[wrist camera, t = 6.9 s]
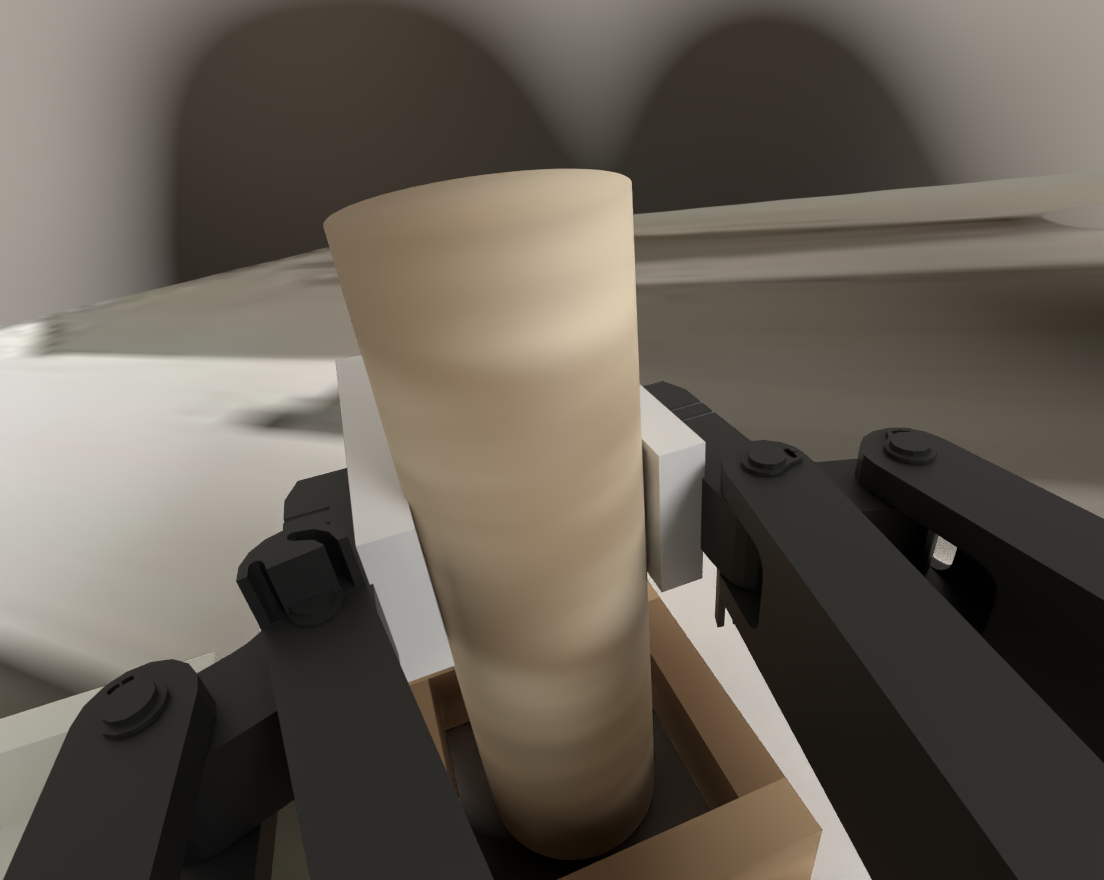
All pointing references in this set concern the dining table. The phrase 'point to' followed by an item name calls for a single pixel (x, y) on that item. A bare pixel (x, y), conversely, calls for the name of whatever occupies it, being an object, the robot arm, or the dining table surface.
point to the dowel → (522, 473)
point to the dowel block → (713, 762)
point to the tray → (38, 758)
